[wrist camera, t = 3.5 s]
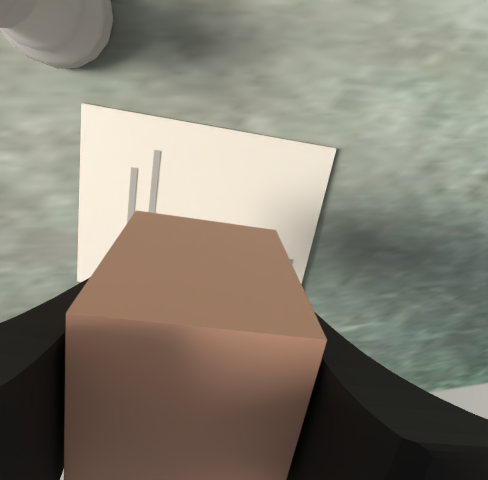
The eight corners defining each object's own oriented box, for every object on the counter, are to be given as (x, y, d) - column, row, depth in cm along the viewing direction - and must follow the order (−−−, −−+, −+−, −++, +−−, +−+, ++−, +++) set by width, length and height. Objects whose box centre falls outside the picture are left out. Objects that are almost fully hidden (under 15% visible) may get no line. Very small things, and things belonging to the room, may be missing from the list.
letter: (79, 278, 20) (76, 282, 20) (83, 103, 17) (81, 103, 17) (294, 304, 22) (295, 307, 21) (334, 148, 19) (337, 149, 18)
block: (126, 331, 13) (63, 502, 8) (136, 210, 12) (65, 312, 6) (251, 343, 14) (277, 511, 8) (275, 229, 12) (327, 340, 7)
